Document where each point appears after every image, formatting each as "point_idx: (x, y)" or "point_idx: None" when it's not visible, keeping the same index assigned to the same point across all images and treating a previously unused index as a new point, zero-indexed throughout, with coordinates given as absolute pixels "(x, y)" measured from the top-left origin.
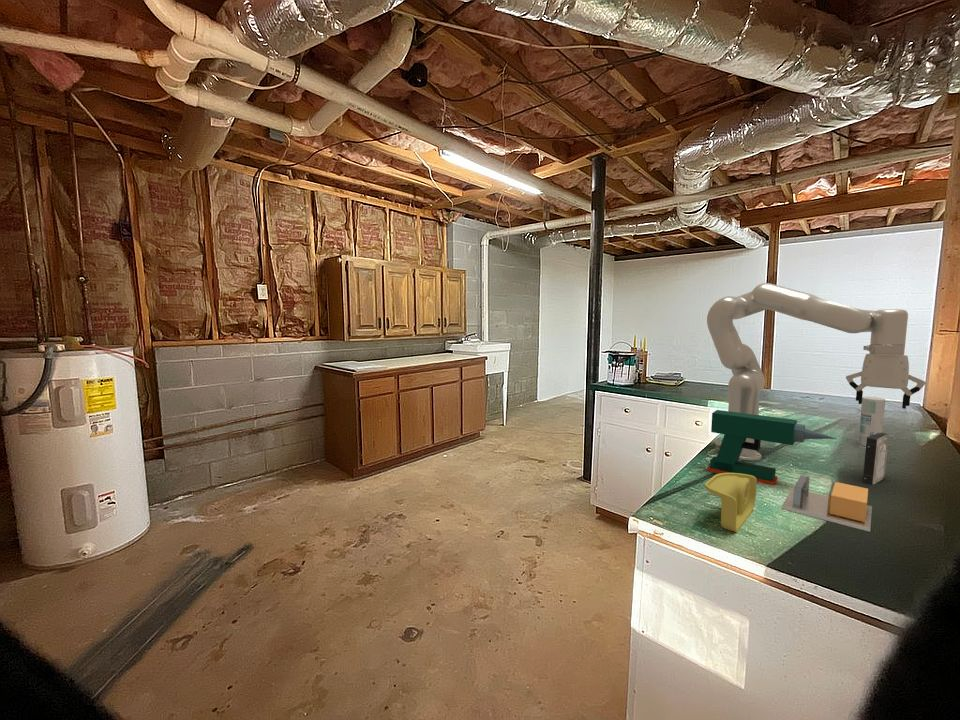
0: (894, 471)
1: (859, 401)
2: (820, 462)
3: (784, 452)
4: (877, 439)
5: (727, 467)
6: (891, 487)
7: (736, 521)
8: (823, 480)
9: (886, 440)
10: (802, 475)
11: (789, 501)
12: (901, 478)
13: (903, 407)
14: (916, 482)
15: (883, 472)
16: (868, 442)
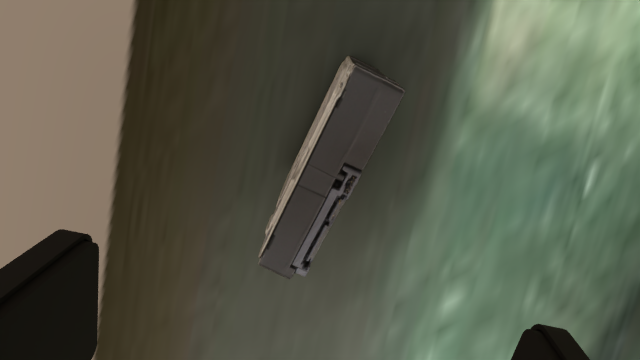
0: (242, 287)
1: (571, 348)
2: (463, 271)
3: None
4: (349, 76)
5: None
6: (288, 72)
7: None
8: (519, 12)
9: (277, 208)
10: None
11: None
12: (236, 213)
13: (80, 238)
14: (200, 191)
15: (296, 158)
16: (391, 81)
